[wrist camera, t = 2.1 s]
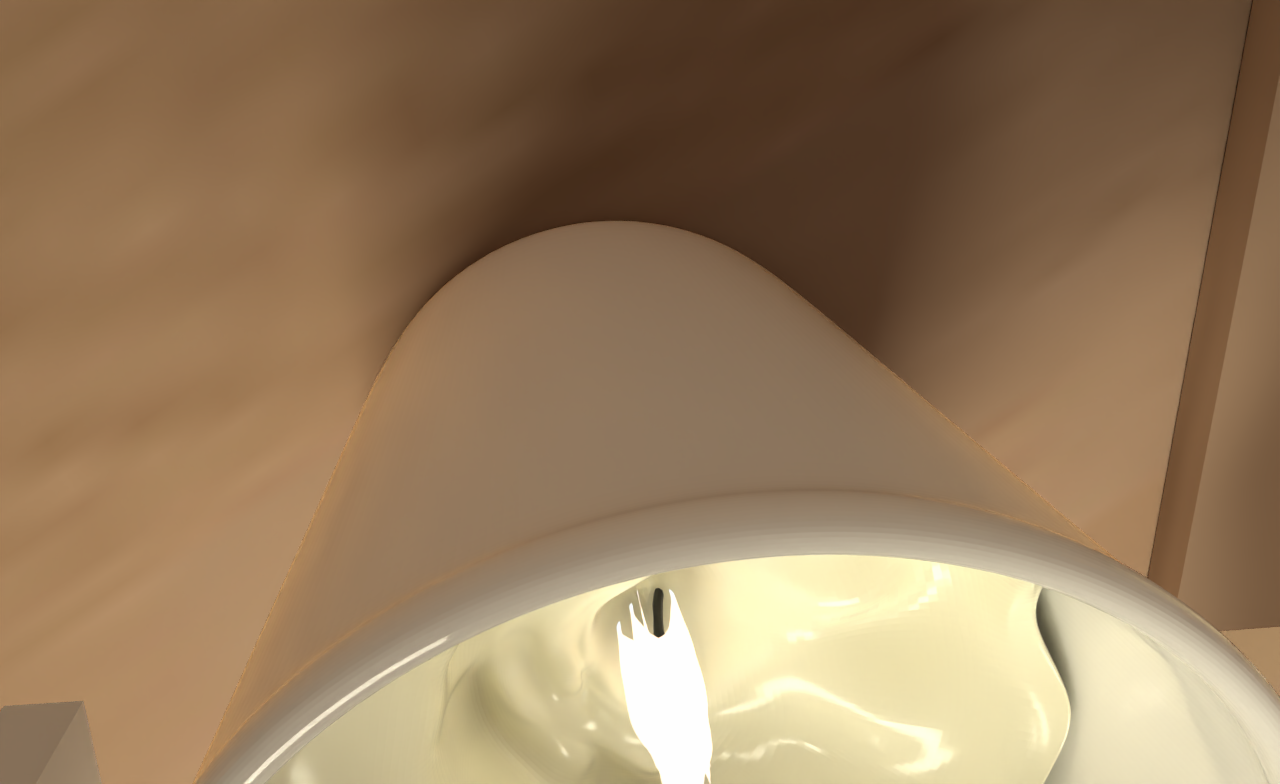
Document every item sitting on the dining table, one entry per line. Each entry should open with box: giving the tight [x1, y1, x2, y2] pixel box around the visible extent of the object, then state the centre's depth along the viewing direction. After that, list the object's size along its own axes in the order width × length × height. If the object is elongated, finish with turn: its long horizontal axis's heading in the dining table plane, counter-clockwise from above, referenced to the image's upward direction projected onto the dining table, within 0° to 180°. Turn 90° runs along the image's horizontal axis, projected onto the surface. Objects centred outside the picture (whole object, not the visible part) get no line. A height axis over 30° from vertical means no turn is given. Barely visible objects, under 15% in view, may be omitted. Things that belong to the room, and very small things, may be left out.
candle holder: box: [192, 221, 1280, 784], centre depth 14 cm, size 10×10×12 cm
